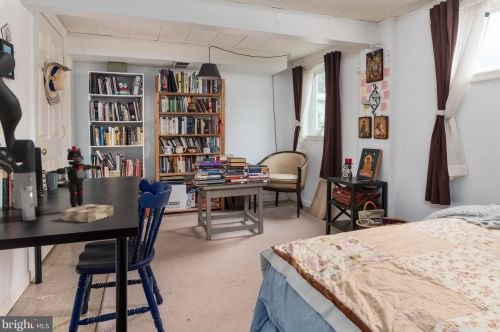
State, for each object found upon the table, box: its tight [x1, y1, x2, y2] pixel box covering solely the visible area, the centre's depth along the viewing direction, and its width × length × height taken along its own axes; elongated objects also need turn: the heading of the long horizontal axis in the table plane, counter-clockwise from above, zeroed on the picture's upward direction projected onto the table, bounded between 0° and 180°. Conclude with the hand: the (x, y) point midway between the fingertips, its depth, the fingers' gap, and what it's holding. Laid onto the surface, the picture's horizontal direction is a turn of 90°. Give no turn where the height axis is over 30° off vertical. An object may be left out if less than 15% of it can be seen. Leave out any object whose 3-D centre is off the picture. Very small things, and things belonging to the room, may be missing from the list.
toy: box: [46, 145, 102, 208], centre depth 156 cm, size 30×8×30 cm, turn 168°
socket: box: [61, 203, 114, 223], centre depth 145 cm, size 14×14×4 cm
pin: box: [21, 185, 36, 222], centre depth 142 cm, size 4×4×14 cm
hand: (15, 172), depth 139 cm, fingers open, 8 cm apart
